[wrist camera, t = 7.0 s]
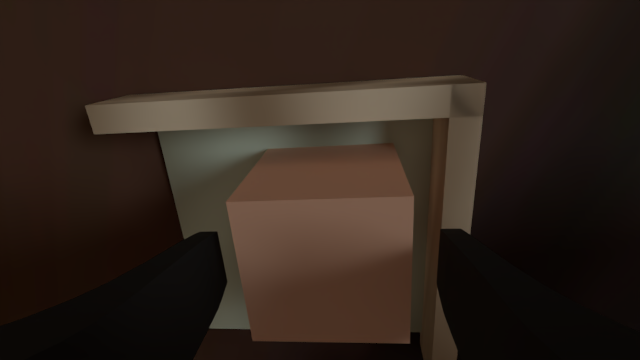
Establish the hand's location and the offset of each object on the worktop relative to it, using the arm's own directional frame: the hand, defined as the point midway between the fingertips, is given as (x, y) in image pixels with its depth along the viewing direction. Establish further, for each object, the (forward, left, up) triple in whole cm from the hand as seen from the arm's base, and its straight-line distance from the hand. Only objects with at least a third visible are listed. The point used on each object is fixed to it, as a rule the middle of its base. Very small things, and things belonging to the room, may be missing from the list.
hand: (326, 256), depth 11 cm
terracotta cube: (0, 0, -4) cm, 4 cm away
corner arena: (0, +1, -4) cm, 4 cm away
